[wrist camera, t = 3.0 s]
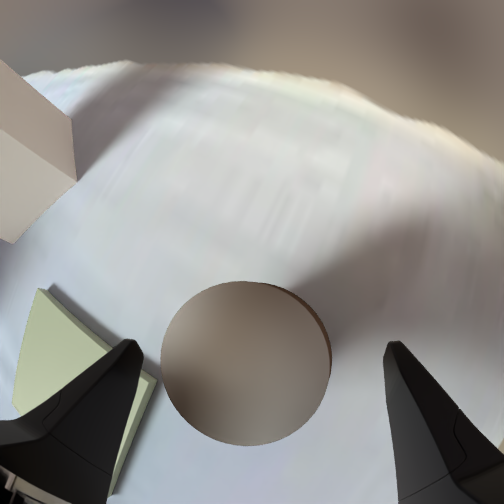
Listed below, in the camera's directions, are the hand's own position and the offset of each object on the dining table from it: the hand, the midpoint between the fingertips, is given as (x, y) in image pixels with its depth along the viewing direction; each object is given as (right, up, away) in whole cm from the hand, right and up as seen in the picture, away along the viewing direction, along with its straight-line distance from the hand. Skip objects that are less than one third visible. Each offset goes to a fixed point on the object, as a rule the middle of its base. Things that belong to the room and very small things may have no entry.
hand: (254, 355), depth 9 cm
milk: (-25, +12, +16) cm, 32 cm away
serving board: (-16, -9, +9) cm, 20 cm away
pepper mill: (+1, -2, +7) cm, 8 cm away
